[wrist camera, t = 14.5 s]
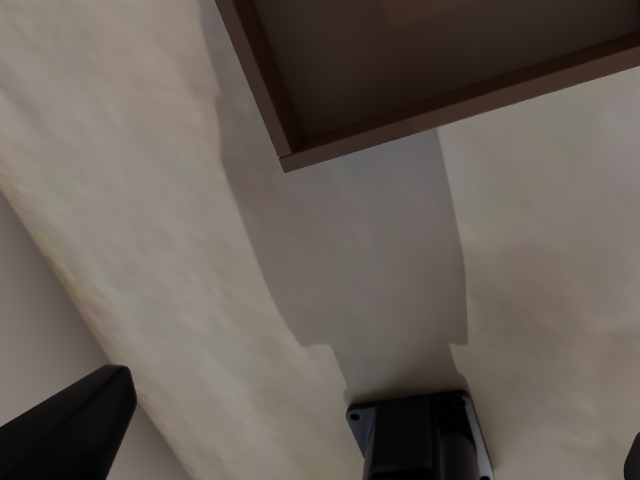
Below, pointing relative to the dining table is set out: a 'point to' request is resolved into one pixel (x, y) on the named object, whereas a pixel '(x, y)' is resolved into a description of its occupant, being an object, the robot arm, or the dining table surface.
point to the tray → (413, 62)
